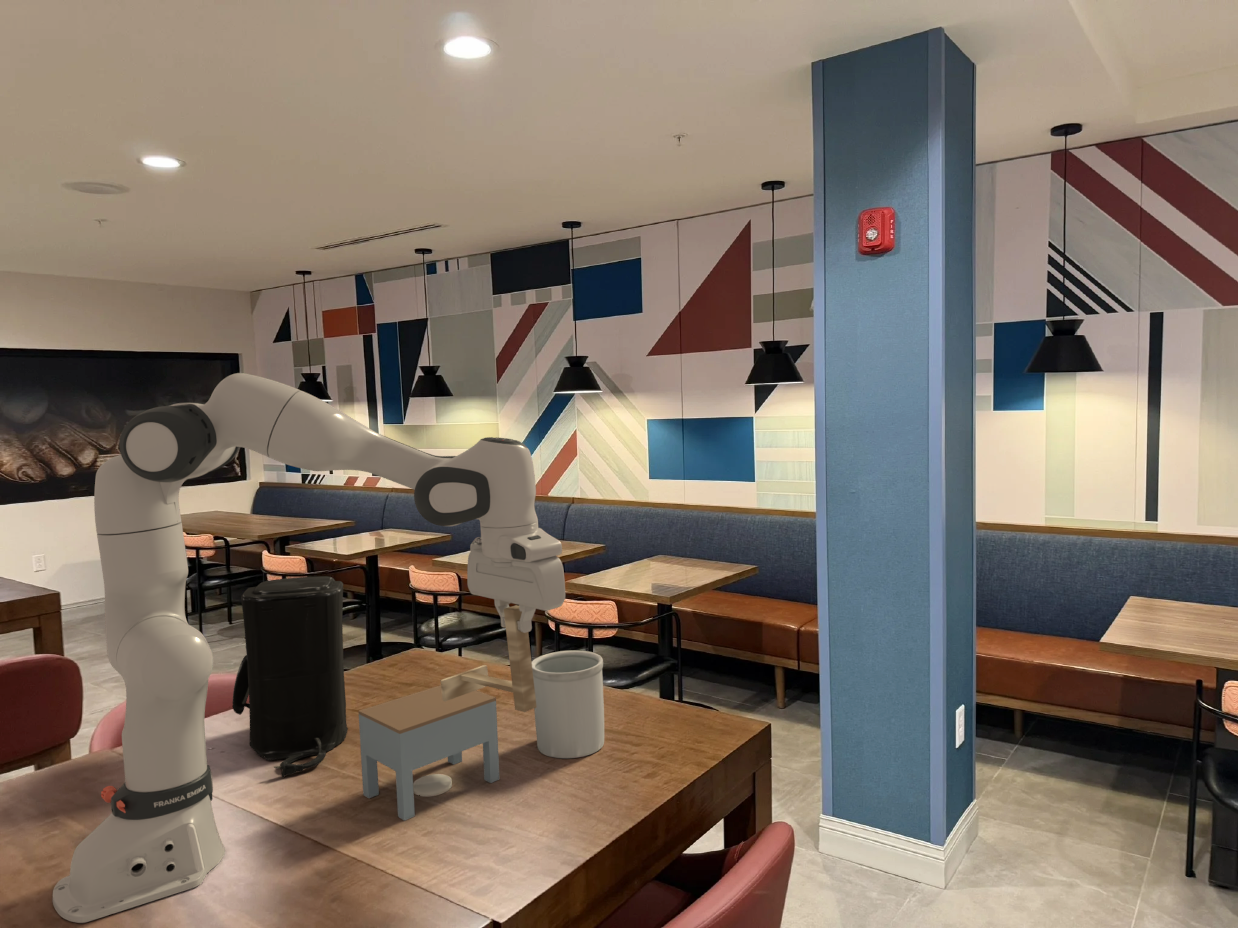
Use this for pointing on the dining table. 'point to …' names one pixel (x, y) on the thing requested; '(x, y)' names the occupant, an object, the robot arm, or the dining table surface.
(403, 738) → the wooden top stool
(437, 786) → the smooth oval stone
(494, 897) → the dining table surface
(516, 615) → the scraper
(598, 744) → the utensil holder
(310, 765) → the coffee maker
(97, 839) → the robot arm
